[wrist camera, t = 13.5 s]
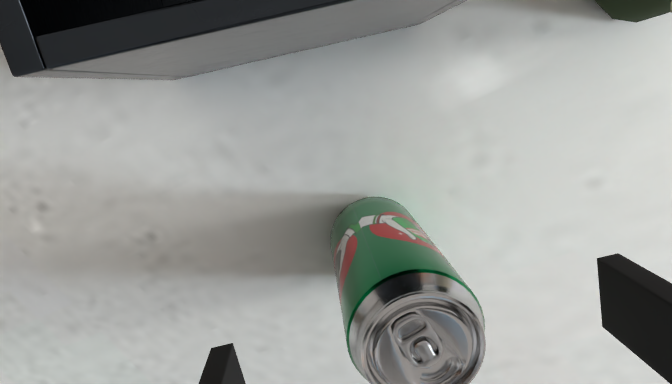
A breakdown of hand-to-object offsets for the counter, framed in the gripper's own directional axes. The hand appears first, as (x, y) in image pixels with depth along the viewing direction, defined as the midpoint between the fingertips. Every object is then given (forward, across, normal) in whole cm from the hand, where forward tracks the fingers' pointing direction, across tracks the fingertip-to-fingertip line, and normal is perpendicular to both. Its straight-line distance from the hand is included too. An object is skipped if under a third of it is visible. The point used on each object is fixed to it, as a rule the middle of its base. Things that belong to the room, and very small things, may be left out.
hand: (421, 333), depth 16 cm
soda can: (+12, 0, 0) cm, 12 cm away
